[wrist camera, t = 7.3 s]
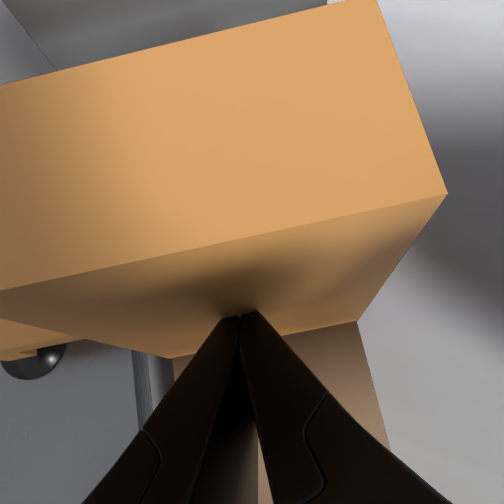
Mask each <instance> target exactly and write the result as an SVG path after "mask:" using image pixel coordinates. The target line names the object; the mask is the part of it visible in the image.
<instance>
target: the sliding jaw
mask: <svg viewBox="0 0 504 504" xmlns="http://www.w3.org/2000/svg"><path fill="white" fill-rule="evenodd" d="M447 194H448V192H447V189H446V187H445V184H444V181H443V179H442V176H441V173H440V171H439V168H438V165H437V162H436V160H435V157H434V154H433V152H432V149H431V146H430V143H429V141H428V138H427V135H426V133H425V130H424V127H423V125H422V122H421V119H420V116H419V114H418V111H417V108H416V106H415V103H414V100H413V97H412V95H411V92H410V89H409V87H408V84H407V81H406V78H405V76H404V73H403V70H402V68H401V65H400V62H399V60H398V57H397V54H396V51H395V49H394V46H393V43H392V41H391V38H390V35H389V32H388V30H387V27H386V24H385V22H384V19H383V16H382V14H381V11H380V8H379V5H378V3H377V0H345V1H341V2H337V3H333V4H329V5H324V6H320V7H316V8H312V9H308V10H304V11H300V12H296V13H292V14H288V15H284V16H280V17H276V18H272V19H267V20H263V21H259V22H255V23H251V24H247V25H243V26H239V27H235V28H231V29H227V30H223V31H219V32H215V33H210V34H206V35H202V36H198V37H194V38H190V39H186V40H182V41H178V42H174V43H170V44H166V45H162V46H158V47H153V48H149V49H145V50H141V51H137V52H133V53H129V54H125V55H121V56H117V57H113V58H109V59H105V60H101V61H96V62H92V63H88V64H84V65H80V66H76V67H72V68H68V69H64V70H60V71H56V72H52V73H48V74H44V75H39V76H35V77H31V78H27V79H23V80H19V81H15V82H11V83H7V84H3V85H0V360H2V361H11V360H16V359H21V358H26V357H31V356H36V355H37V349H38V348H43V347H48V346H52V345H57V344H62V343H67V342H72V341H76V340H81V339H89V340H93V341H97V342H101V343H106V344H110V345H114V346H118V347H122V348H126V349H131V350H135V351H139V352H143V353H147V354H152V355H156V356H160V357H164V358H168V359H170V358H175V357H180V356H185V355H190V354H195V353H196V352H197V351H198V349H199V348H200V347H201V345H202V344H203V343H204V341H205V340H206V338H207V337H208V336H209V334H210V333H211V332H212V330H213V329H214V327H215V326H216V325H217V323H218V322H219V321H220V320H221V319H222V318H226V317H231V316H236V315H238V316H240V317H241V315H242V314H245V313H250V312H255V311H259V312H260V313H261V314H262V315H263V316H264V317H265V318H266V319H267V321H268V322H269V323H270V324H271V325H272V326H273V327H274V329H275V330H276V331H277V332H278V333H279V334H280V335H281V336H284V335H289V334H294V333H299V332H303V331H308V330H313V329H318V328H323V327H328V326H333V325H338V324H343V323H348V322H353V321H358V320H359V318H360V317H361V315H362V314H363V313H364V311H365V310H366V308H367V307H368V305H369V304H370V303H371V301H372V300H373V298H374V297H375V296H376V294H377V293H378V291H379V290H380V289H381V287H382V286H383V284H384V283H385V282H386V280H387V279H388V277H389V276H390V274H391V273H392V272H393V270H394V269H395V267H396V266H397V265H398V263H399V262H400V260H401V259H402V258H403V256H404V255H405V253H406V252H407V250H408V249H409V248H410V246H411V245H412V243H413V242H414V241H415V239H416V238H417V236H418V235H419V234H420V232H421V231H422V229H423V228H424V227H425V225H426V224H427V222H428V221H429V219H430V218H431V217H432V215H433V214H434V212H435V211H436V210H437V208H438V207H439V205H440V204H441V203H442V201H443V200H444V198H445V197H446V196H447Z"/></svg>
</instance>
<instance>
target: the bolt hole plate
mask: <svg viewBox="0 0 504 504" xmlns="http://www.w3.org/2000/svg"><path fill="white" fill-rule="evenodd" d="M152 413H153V410H152V400H151V390H150V380H149V370H148V360H147V353H143V352H139V351H135V350H131V349H126V348H122V347H118V346H114V345H110V344H106V343H101V342H97V341H93V340H89V339H81V340H76V341H72V342H67V343H62V344H57V345H52V346H48V347H43V348H38V349H37V355H36V356H31V357H26V358H21V359H16V360H11V361H2V360H0V504H81V503H82V502H83V501H84V500H85V498H86V497H87V496H88V495H89V494H90V493H91V491H92V490H93V489H94V488H95V487H96V485H97V484H98V483H99V482H100V481H101V480H102V478H103V477H104V476H105V475H106V474H107V472H108V471H109V470H110V469H111V467H112V466H113V465H114V464H115V462H116V461H117V460H118V458H119V457H120V456H121V454H122V453H123V452H124V451H125V449H126V448H127V447H128V445H129V444H130V443H131V441H132V440H133V438H134V437H135V436H136V434H137V433H138V432H139V431H140V430H142V426H143V425H144V424H145V422H146V421H147V419H148V418H149V417H150V415H151V414H152Z"/></svg>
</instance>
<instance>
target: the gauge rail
mask: <svg viewBox="0 0 504 504" xmlns="http://www.w3.org/2000/svg"><path fill="white" fill-rule="evenodd" d="M2 1H3V2H4V4H5V5H6V6H7V7H8V9H9V10H10V11H11V12H12V14H13V15H14V16H15V18H16V19H17V20H18V21H19V23H20V24H21V25H22V27H23V28H24V29H25V30H26V32H27V33H28V34H29V36H30V37H31V38H32V39H33V41H34V42H35V43H36V45H37V46H38V47H39V48H40V50H41V51H42V52H43V54H44V55H45V56H46V57H47V59H48V60H49V61H50V62H51V64H52V65H53V66H54V68H55V69H56V70H57V71H60V70H64V69H68V68H72V67H76V66H80V65H84V64H88V63H92V62H96V61H101V60H105V59H109V58H113V57H117V56H121V55H125V54H129V53H133V52H137V51H141V50H145V49H149V48H153V47H158V46H162V45H166V44H170V43H174V42H178V41H182V40H186V39H190V38H194V37H198V36H202V35H206V34H210V33H215V32H219V31H223V30H227V29H231V28H235V27H239V26H243V25H247V24H251V23H255V22H259V21H263V20H267V19H272V18H276V17H280V16H284V15H288V14H292V13H296V12H300V11H304V10H308V9H312V8H316V7H320V6H324V5H327V0H2ZM281 337H282V338H283V339H284V340H285V341H286V342H287V343H288V345H289V346H290V347H291V348H292V349H293V350H294V351H295V353H296V354H297V355H298V356H299V357H300V358H301V359H302V361H303V362H304V363H305V364H306V365H307V366H308V367H309V369H310V370H311V371H312V372H313V373H314V374H315V376H316V377H317V378H318V379H319V380H320V381H321V382H322V384H323V385H324V386H325V387H326V388H327V389H328V390H329V392H330V394H332V395H333V396H334V397H335V398H336V399H337V400H338V401H339V403H340V404H341V405H342V406H343V407H344V408H345V409H346V410H347V411H348V412H349V413H350V414H351V416H352V417H353V418H354V419H355V420H356V421H357V422H358V423H359V424H360V425H361V426H362V427H364V428H365V429H366V430H367V431H368V432H369V433H370V434H371V435H372V436H373V437H374V438H376V439H377V440H378V441H379V442H380V443H381V444H382V445H384V446H385V447H386V448H387V449H388V450H389V451H391V450H390V446H389V442H388V438H387V435H386V431H385V427H384V423H383V419H382V416H381V412H380V408H379V404H378V400H377V397H376V393H375V389H374V385H373V381H372V378H371V374H370V370H369V366H368V363H367V359H366V355H365V351H364V347H363V344H362V340H361V336H360V332H359V328H358V325H357V321H353V322H348V323H343V324H338V325H333V326H328V327H323V328H318V329H313V330H308V331H303V332H299V333H294V334H289V335H284V336H281ZM195 354H196V353H195ZM195 354H190V355H185V356H180V357H175V358H172V364H173V372H174V381H176V380H177V378H178V377H179V375H180V374H181V373H182V371H183V370H184V369H185V367H186V366H187V365H188V363H189V362H190V360H191V359H192V358H193V356H194V355H195ZM258 504H273V500H272V496H271V491H270V487H269V482H268V478H267V473H266V469H265V464H264V460H263V456H262V451H261V447H260V442H259V438H258Z"/></svg>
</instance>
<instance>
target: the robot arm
mask: <svg viewBox="0 0 504 504" xmlns="http://www.w3.org/2000/svg"><path fill="white" fill-rule="evenodd" d="M258 438H259V442H260V447H261V451H262V456H263V460H264V464H265V469H266V473H267V478H268V482H269V487H270V491H271V496H272V500H273V504H453V503H451V502H450V501H449V500H447V499H446V498H445V497H444V496H442V495H441V494H440V493H439V492H437V491H436V490H435V489H434V488H433V487H432V486H430V485H429V484H428V483H427V482H426V481H424V480H423V479H422V478H421V477H420V476H419V475H417V474H416V473H415V472H414V471H413V470H412V469H410V468H409V467H408V466H407V465H406V464H405V463H403V462H402V461H401V460H400V459H399V458H398V457H396V456H395V455H394V454H393V453H392V452H391V451H389V450H388V449H387V448H386V447H385V446H384V445H382V444H381V443H380V442H379V441H378V440H377V439H376V438H374V437H373V436H372V435H371V434H370V433H369V432H368V431H367V430H366V429H365V428H364V427H362V426H361V425H360V424H359V423H358V422H357V421H356V420H355V419H354V418H353V417H352V416H351V414H350V413H349V412H348V411H347V410H346V409H345V408H344V407H343V406H342V405H341V404H340V403H339V401H338V400H337V399H336V398H335V397H334V396H333V395H332V394H330V392H329V390H328V389H327V388H326V387H325V386H324V385H323V384H322V382H321V381H320V380H319V379H318V378H317V377H316V376H315V374H314V373H313V372H312V371H311V370H310V369H309V367H308V366H307V365H306V364H305V363H304V362H303V361H302V359H301V358H300V357H299V356H298V355H297V354H296V353H295V351H294V350H293V349H292V348H291V347H290V346H289V345H288V343H287V342H286V341H285V340H284V339H283V338H282V337H281V335H280V334H279V333H278V332H277V331H276V330H275V329H274V327H273V326H272V325H271V324H270V323H269V322H268V321H267V319H266V318H265V317H264V316H263V315H262V314H261V313H260V312H259V311H255V312H250V313H245V314H242V315H241V317H240V316H238V315H236V316H231V317H226V318H222V319H221V320H220V321H219V322H218V323H217V325H216V326H215V327H214V329H213V330H212V332H211V333H210V334H209V336H208V337H207V338H206V340H205V341H204V343H203V344H202V345H201V347H200V348H199V349H198V351H197V352H196V354H195V355H194V356H193V358H192V359H191V360H190V362H189V363H188V365H187V366H186V367H185V369H184V370H183V371H182V373H181V374H180V375H179V377H178V378H177V380H176V381H175V382H174V384H173V385H172V386H171V388H170V389H169V391H168V392H167V393H166V395H165V396H164V397H163V399H162V400H161V402H160V403H159V404H158V406H157V407H156V408H155V410H154V411H153V413H152V414H151V415H150V417H149V418H148V419H147V421H146V422H145V424H144V425H143V426H142V430H140V431H139V432H138V433H137V434H136V436H135V437H134V438H133V440H132V441H131V443H130V444H129V445H128V447H127V448H126V449H125V451H124V452H123V453H122V454H121V456H120V457H119V458H118V460H117V461H116V462H115V464H114V465H113V466H112V467H111V469H110V470H109V471H108V472H107V474H106V475H105V476H104V477H103V478H102V480H101V481H100V482H99V483H98V484H97V485H96V487H95V488H94V489H93V490H92V491H91V493H90V494H89V495H88V496H87V497H86V498H85V500H84V501H83V502H82V503H81V504H258Z"/></svg>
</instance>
